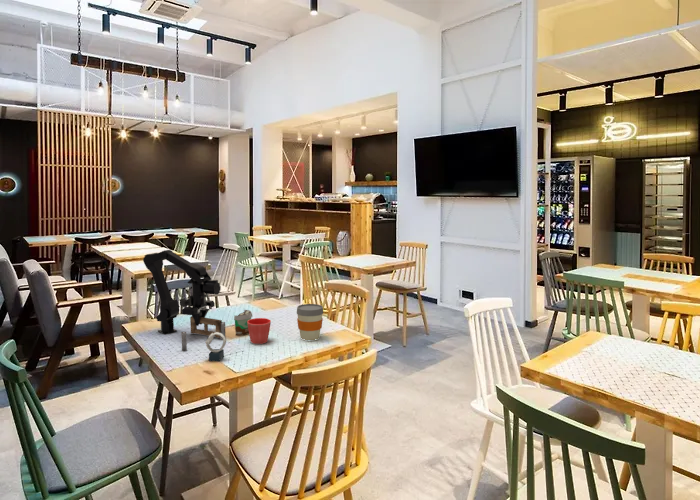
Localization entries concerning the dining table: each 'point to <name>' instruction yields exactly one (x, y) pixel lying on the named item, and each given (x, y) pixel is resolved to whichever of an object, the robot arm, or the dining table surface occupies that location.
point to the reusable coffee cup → (309, 321)
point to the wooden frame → (206, 326)
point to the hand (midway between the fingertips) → (199, 325)
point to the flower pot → (259, 330)
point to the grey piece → (184, 341)
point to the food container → (242, 322)
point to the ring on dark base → (215, 353)
